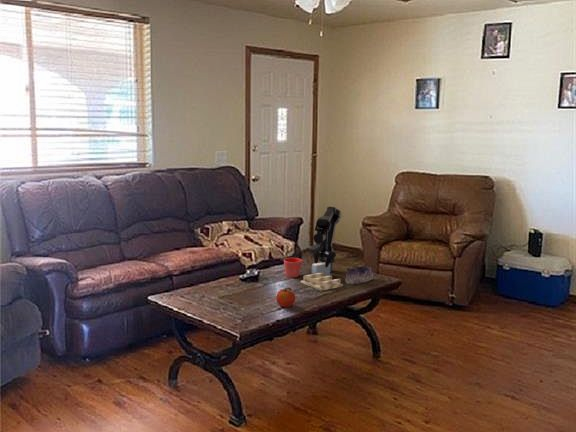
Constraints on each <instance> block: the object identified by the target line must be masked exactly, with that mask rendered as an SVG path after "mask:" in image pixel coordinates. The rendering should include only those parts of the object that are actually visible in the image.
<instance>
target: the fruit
mask: <svg viewBox="0 0 576 432" xmlns="http://www.w3.org/2000/svg"><path fill="white" fill-rule="evenodd" d="M275 297H276V298H275V300H276V303H277V305H279V306H280V307H281V308H290V307H292V306H293V305H294V304H295V301H296V294H295V292H294V290H292V288H291V287H284V288H283V289H279V290H278V292H277V294H276V296H275Z"/></svg>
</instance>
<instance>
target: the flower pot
mask: <svg viewBox="0 0 576 432" xmlns="http://www.w3.org/2000/svg"><path fill="white" fill-rule="evenodd" d="M302 262H303V260H302V258H298V257H286V258H284V259H283V264H284V265H283V266H284V272H285V276H286V277H288V278H298V277H299V275H300V273H301V267H302V264H303V263H302Z"/></svg>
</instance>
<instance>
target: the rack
mask: <svg viewBox="0 0 576 432" xmlns="http://www.w3.org/2000/svg"><path fill="white" fill-rule="evenodd" d="M341 280H342V279H341V278H336V279H335V278H334V279H333V276H332V275H331V274H330V276H325V277H324V273H316V274H312V273H311V274H305V275H303V279H302V280H300V283H301V284H304V285H306V286H308V287H312V288H313V289H315V290H318V291H320V292H322V291H326V290H331V289H336V288H342V287H344V284H342V283H341V282H342V281H341Z"/></svg>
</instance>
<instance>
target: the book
mask: <svg viewBox="0 0 576 432" xmlns="http://www.w3.org/2000/svg"><path fill="white" fill-rule="evenodd" d="M330 266H331V264H329V265H328V267H327V268H326V266H325V262H321V261H320V262H318V263H315V262H314V263H312V264H311V274H316V273H324V277H325V276H330V275H331V272H330Z"/></svg>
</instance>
